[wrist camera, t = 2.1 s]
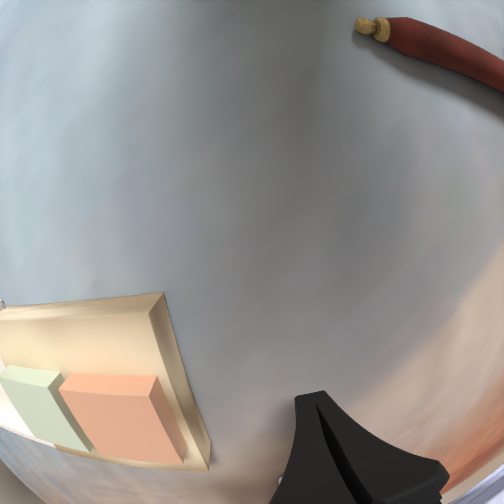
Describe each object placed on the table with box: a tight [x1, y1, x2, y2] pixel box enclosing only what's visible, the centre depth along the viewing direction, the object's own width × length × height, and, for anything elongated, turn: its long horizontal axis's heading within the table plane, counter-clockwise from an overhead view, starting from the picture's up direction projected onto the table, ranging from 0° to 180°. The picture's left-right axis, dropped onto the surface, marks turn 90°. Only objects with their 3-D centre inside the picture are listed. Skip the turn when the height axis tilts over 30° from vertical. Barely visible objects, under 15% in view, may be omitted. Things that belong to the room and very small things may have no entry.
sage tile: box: [0, 365, 93, 453], centre depth 10 cm, size 5×5×2 cm
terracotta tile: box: [58, 373, 187, 464], centre depth 10 cm, size 5×5×2 cm
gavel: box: [355, 17, 504, 93], centre depth 9 cm, size 21×5×10 cm
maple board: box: [0, 292, 211, 471], centre depth 12 cm, size 11×12×2 cm
